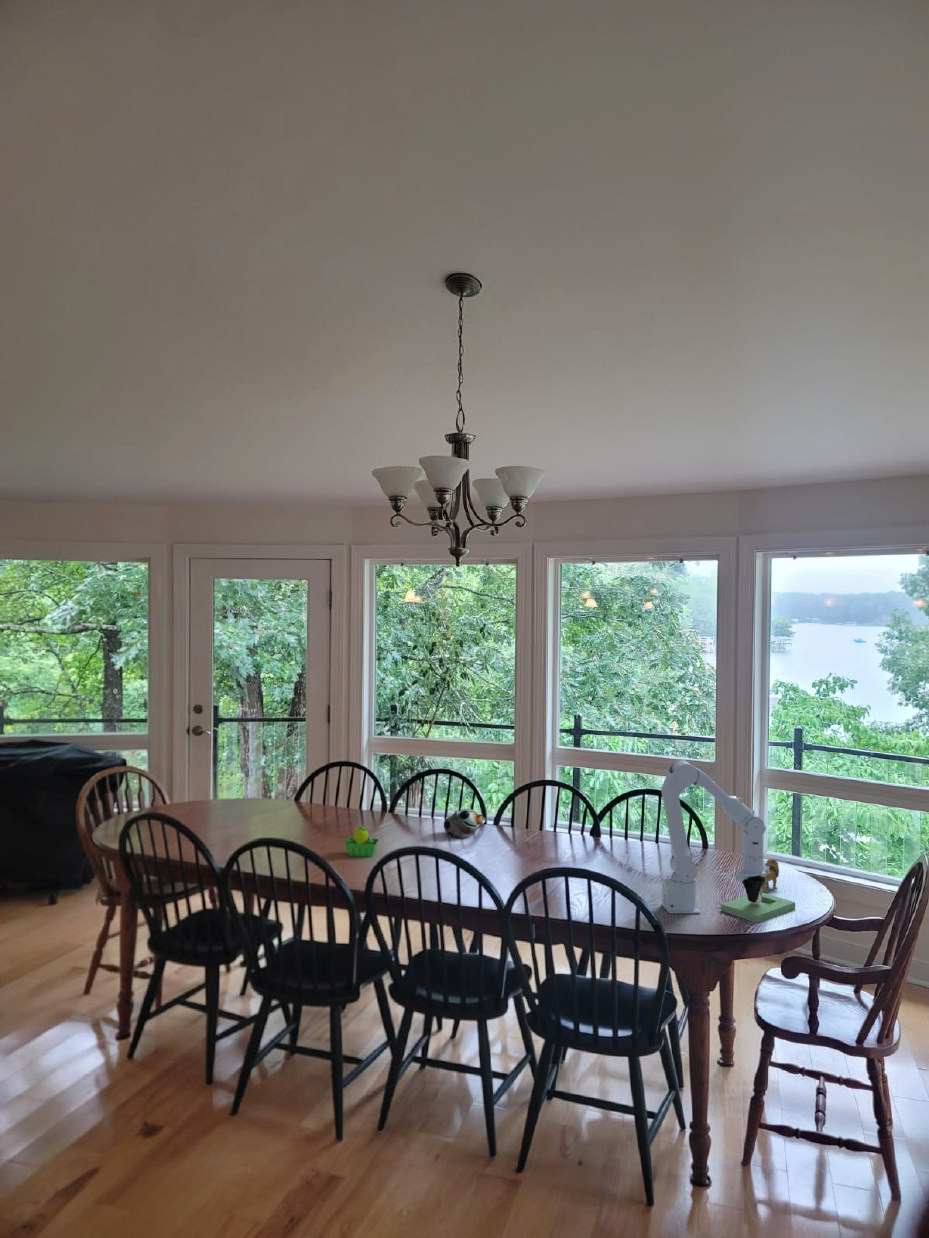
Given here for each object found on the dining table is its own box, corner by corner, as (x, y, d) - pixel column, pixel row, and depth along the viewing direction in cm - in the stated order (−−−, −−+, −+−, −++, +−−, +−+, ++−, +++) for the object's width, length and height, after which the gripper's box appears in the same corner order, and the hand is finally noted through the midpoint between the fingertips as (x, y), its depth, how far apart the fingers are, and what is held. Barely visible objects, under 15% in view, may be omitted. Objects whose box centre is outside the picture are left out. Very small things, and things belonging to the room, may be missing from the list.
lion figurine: (766, 882, 258) (766, 855, 258) (782, 886, 255) (782, 859, 255) (747, 893, 248) (747, 864, 248) (764, 897, 244) (764, 868, 244)
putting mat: (757, 922, 222) (757, 891, 222) (721, 910, 231) (721, 880, 231) (798, 907, 234) (798, 877, 235) (762, 896, 244) (762, 868, 244)
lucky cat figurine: (474, 829, 323) (486, 803, 319) (477, 848, 312) (490, 821, 308) (440, 821, 320) (452, 794, 315) (442, 839, 309) (455, 811, 304)
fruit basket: (379, 852, 289) (379, 821, 289) (374, 859, 280) (374, 827, 280) (349, 851, 290) (349, 820, 290) (343, 857, 281) (343, 826, 281)
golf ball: (750, 900, 229) (755, 889, 230) (745, 900, 232) (749, 890, 234) (760, 907, 229) (765, 896, 230) (755, 907, 232) (759, 896, 233)
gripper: (750, 862, 223) (750, 909, 223) (778, 854, 232) (779, 899, 231) (729, 856, 229) (729, 903, 228) (757, 849, 237) (757, 893, 237)
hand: (752, 901), depth 230 cm, fingers closed, pressing on golf ball
